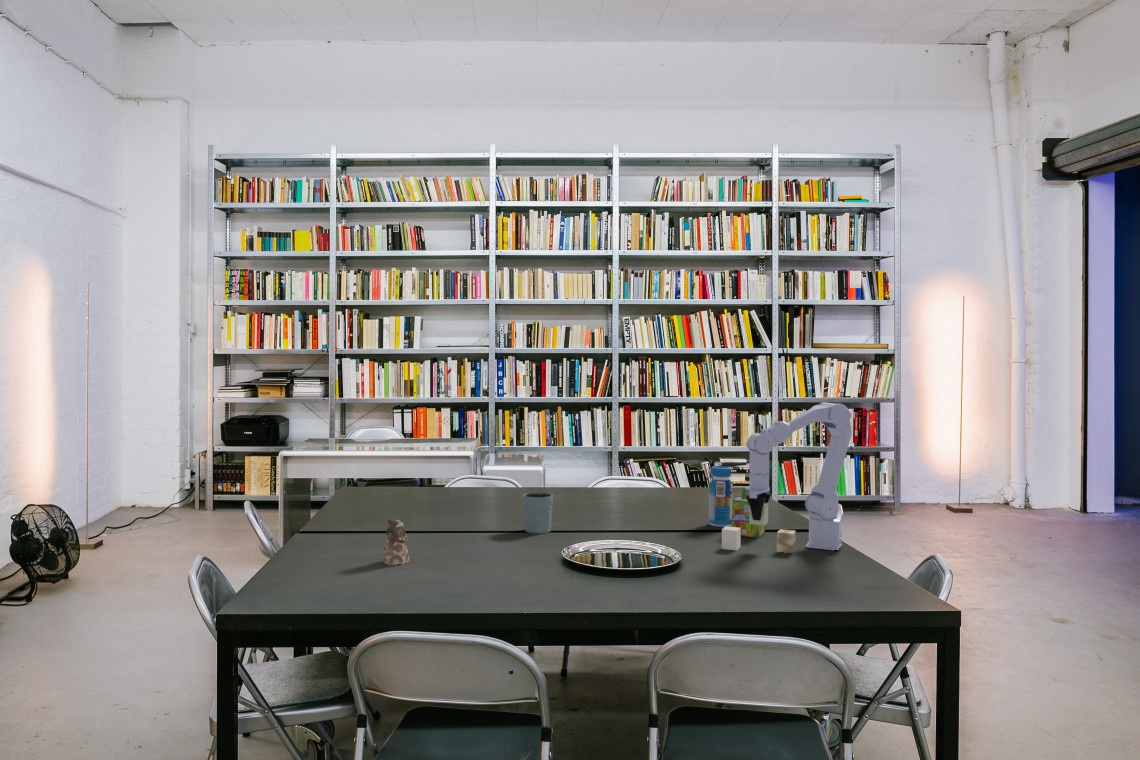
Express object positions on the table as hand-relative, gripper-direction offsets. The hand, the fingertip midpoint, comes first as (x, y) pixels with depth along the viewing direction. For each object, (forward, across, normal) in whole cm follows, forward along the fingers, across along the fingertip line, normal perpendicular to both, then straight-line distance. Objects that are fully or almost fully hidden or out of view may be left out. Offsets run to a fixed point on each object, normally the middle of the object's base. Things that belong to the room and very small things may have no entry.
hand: (758, 518), depth 230 cm
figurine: (+10, +63, -86) cm, 107 cm away
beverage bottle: (+10, -28, -20) cm, 36 cm away
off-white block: (+10, +2, -8) cm, 12 cm away
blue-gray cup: (+10, +10, -71) cm, 72 cm away
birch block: (+10, -2, +8) cm, 12 cm away
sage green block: (+1, 0, 0) cm, 1 cm away
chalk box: (+10, -19, -8) cm, 23 cm away
